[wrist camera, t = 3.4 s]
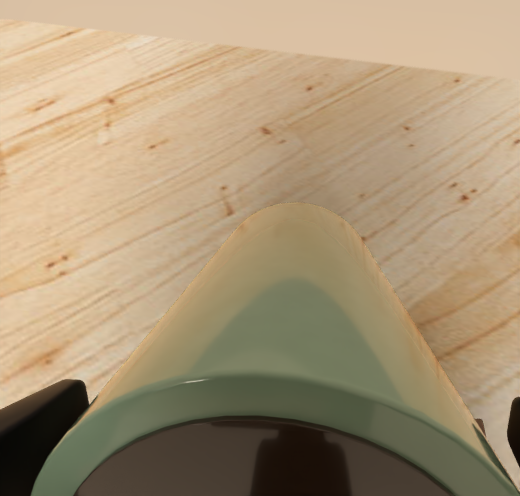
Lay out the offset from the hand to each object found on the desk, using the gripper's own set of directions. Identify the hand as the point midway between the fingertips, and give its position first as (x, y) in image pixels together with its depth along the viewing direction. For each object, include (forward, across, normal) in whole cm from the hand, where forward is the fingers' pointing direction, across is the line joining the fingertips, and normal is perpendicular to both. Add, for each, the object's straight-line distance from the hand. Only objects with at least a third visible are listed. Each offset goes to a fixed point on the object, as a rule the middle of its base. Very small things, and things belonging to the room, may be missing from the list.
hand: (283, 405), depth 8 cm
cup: (+7, 0, +5) cm, 8 cm away
